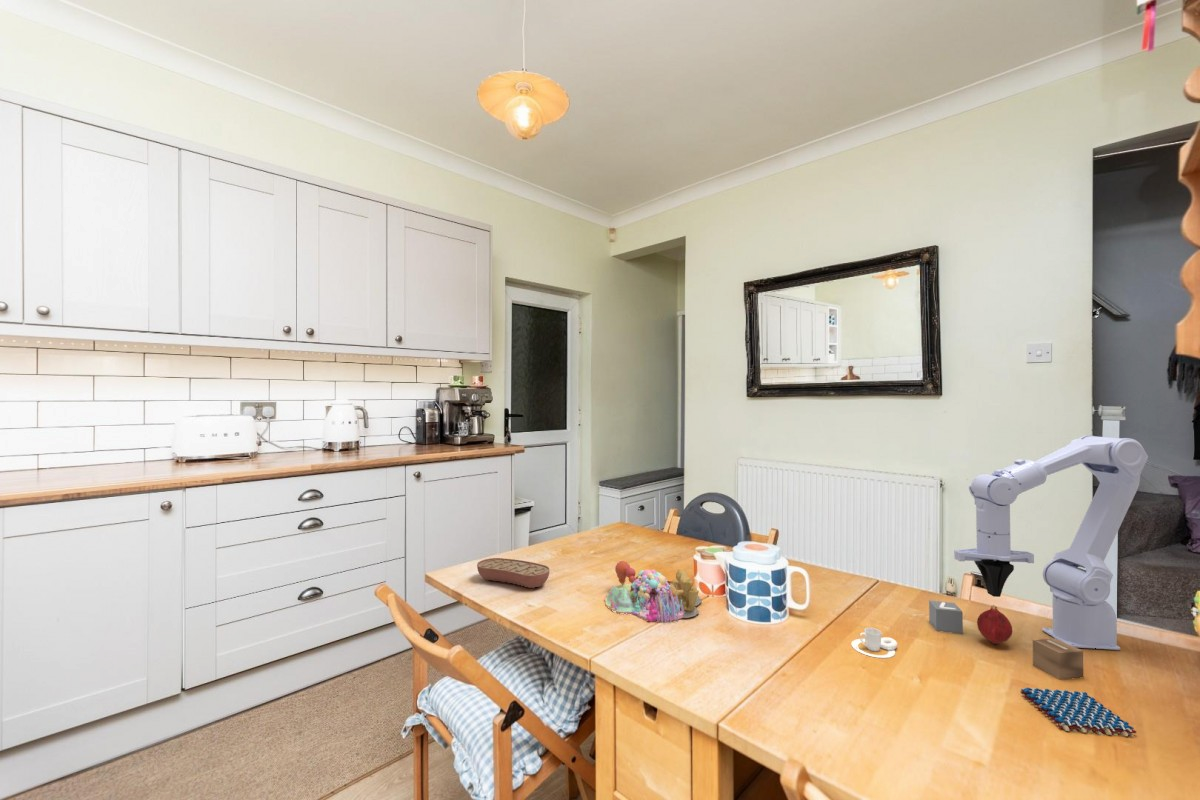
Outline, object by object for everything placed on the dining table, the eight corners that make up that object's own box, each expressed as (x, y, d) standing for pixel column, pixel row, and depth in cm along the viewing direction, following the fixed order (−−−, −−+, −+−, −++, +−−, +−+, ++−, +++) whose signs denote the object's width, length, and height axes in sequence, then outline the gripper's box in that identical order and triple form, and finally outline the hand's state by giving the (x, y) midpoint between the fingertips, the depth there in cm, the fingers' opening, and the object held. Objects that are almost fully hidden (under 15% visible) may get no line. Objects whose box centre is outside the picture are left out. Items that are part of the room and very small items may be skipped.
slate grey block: (954, 624, 115) (954, 602, 115) (962, 634, 110) (962, 611, 110) (929, 621, 116) (929, 599, 116) (936, 631, 112) (936, 608, 112)
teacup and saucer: (894, 645, 106) (894, 625, 106) (903, 663, 99) (903, 643, 99) (848, 638, 109) (848, 620, 109) (854, 656, 102) (854, 636, 102)
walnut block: (1055, 664, 98) (1055, 637, 98) (1083, 678, 93) (1083, 650, 93) (1032, 665, 97) (1032, 639, 97) (1059, 680, 92) (1059, 652, 92)
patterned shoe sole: (470, 582, 144) (470, 565, 144) (492, 572, 153) (492, 555, 153) (538, 595, 134) (537, 577, 134) (557, 583, 143) (556, 565, 143)
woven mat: (1141, 742, 76) (1141, 728, 76) (1062, 735, 78) (1062, 722, 78) (1086, 701, 86) (1086, 689, 86) (1017, 695, 88) (1017, 684, 88)
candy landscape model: (694, 586, 140) (694, 553, 140) (711, 624, 116) (711, 584, 116) (604, 587, 140) (604, 554, 140) (604, 624, 117) (603, 585, 117)
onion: (1018, 652, 102) (1018, 612, 102) (986, 649, 103) (986, 610, 103) (1002, 638, 108) (1001, 601, 108) (971, 636, 109) (971, 599, 109)
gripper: (967, 535, 104) (968, 601, 104) (1044, 537, 102) (1045, 603, 102) (948, 527, 111) (949, 588, 111) (1020, 528, 109) (1021, 590, 109)
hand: (993, 594), depth 107 cm, fingers closed
